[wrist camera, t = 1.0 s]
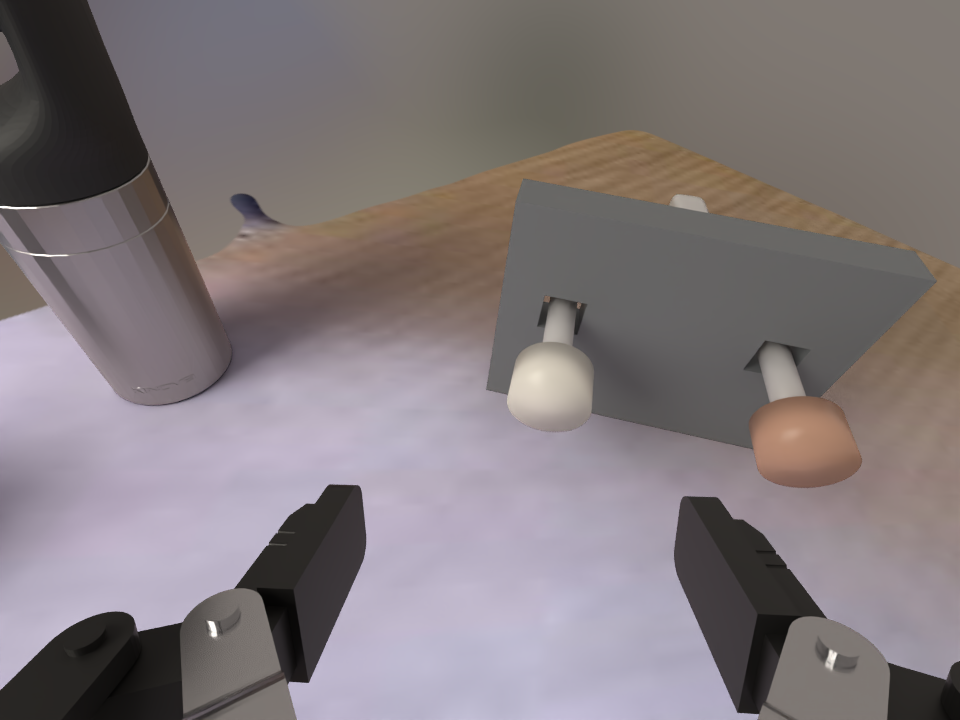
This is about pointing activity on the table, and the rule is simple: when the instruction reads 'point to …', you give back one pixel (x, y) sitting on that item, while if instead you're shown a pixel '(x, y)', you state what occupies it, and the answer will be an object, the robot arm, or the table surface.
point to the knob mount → (692, 304)
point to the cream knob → (553, 376)
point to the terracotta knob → (799, 429)
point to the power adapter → (689, 202)
